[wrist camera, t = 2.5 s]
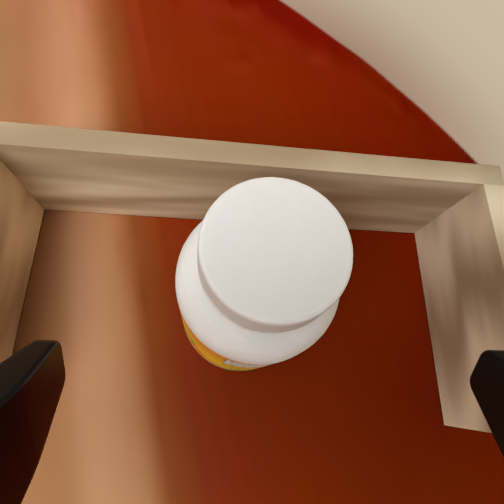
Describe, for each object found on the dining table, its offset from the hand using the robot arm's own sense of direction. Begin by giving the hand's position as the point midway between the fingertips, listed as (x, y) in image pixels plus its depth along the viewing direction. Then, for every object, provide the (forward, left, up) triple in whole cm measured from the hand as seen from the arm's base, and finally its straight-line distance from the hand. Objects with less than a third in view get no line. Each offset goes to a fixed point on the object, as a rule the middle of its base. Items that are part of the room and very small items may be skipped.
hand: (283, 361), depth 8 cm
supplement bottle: (+1, +3, -10) cm, 11 cm away
